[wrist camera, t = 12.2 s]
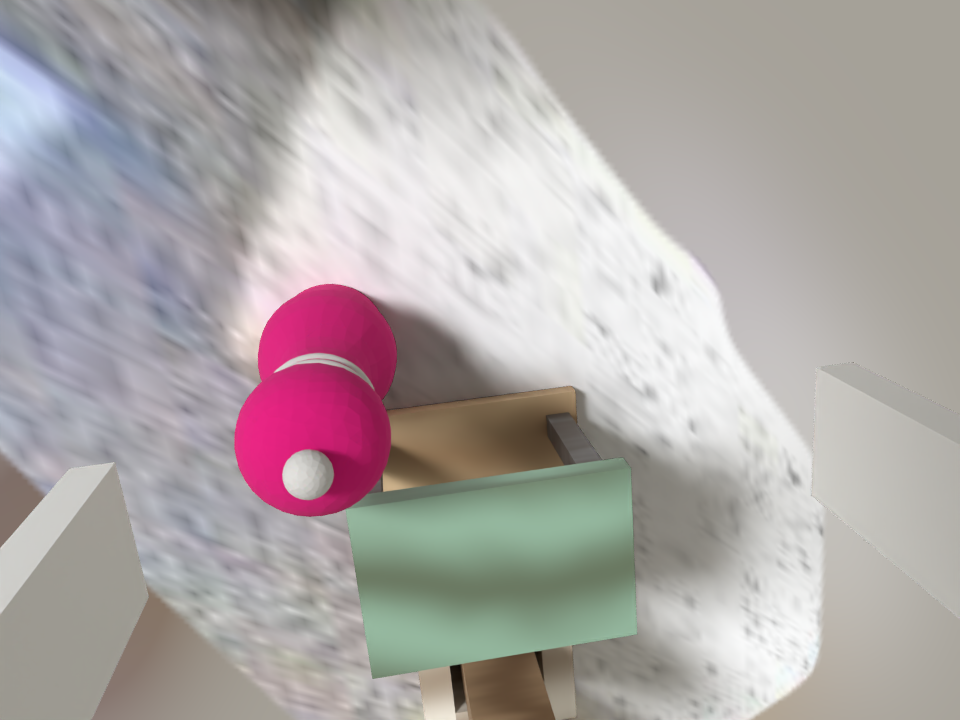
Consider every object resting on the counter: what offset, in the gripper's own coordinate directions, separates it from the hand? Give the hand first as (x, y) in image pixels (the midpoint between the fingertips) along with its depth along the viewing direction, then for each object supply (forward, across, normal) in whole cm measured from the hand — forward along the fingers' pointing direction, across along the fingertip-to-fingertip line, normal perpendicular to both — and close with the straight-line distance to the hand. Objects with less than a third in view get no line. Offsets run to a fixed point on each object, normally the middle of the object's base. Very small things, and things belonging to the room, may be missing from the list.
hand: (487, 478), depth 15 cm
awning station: (+32, +2, -19) cm, 37 cm away
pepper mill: (+32, -5, -5) cm, 33 cm away
